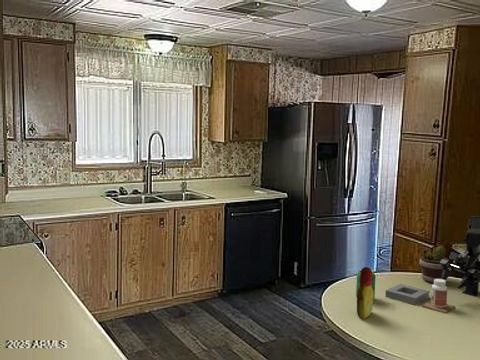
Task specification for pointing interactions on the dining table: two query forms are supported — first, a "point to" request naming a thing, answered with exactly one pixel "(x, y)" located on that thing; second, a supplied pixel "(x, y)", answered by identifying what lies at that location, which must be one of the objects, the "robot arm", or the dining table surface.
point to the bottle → (365, 293)
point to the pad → (443, 310)
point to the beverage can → (371, 284)
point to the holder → (407, 294)
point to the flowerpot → (432, 265)
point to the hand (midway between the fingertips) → (449, 284)
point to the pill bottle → (439, 293)
